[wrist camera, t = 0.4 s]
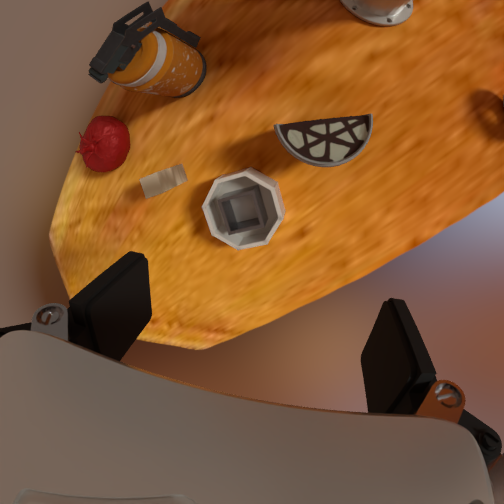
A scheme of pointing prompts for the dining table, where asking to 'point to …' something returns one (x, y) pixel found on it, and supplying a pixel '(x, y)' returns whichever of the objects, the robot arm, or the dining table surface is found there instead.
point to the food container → (326, 139)
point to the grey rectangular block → (163, 180)
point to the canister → (150, 56)
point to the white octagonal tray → (244, 208)
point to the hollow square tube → (229, 214)
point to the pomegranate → (105, 144)
